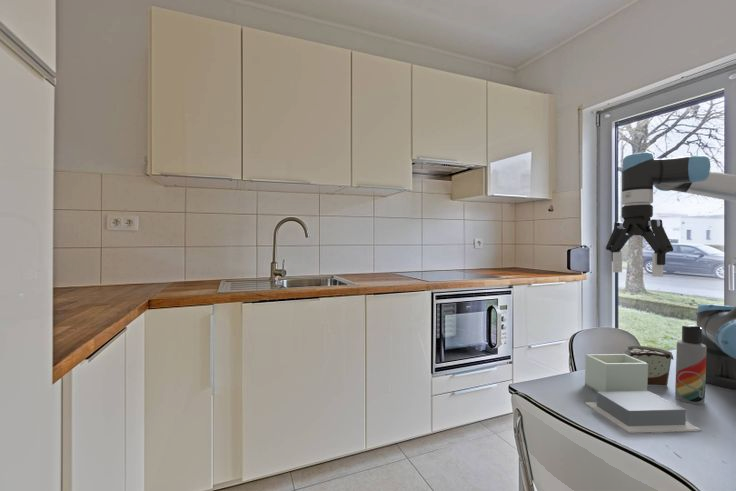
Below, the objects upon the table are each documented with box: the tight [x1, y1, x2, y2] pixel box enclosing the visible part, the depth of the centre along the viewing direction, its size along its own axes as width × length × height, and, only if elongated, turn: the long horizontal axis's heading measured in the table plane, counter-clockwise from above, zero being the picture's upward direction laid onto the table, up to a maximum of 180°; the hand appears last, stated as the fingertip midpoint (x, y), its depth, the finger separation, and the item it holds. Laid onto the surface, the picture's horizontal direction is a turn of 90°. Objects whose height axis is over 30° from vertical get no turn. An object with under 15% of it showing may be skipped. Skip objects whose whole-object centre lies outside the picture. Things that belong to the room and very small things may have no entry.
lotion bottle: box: [674, 324, 706, 405], centre depth 89 cm, size 6×6×20 cm
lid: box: [596, 390, 687, 426], centre depth 80 cm, size 14×9×4 cm
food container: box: [623, 345, 675, 387], centre depth 101 cm, size 12×6×10 cm, turn 84°
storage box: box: [584, 353, 648, 393], centre depth 94 cm, size 12×8×9 cm, turn 94°
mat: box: [585, 401, 701, 434], centre depth 80 cm, size 17×13×1 cm
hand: (636, 274), depth 103 cm, fingers open, 13 cm apart
